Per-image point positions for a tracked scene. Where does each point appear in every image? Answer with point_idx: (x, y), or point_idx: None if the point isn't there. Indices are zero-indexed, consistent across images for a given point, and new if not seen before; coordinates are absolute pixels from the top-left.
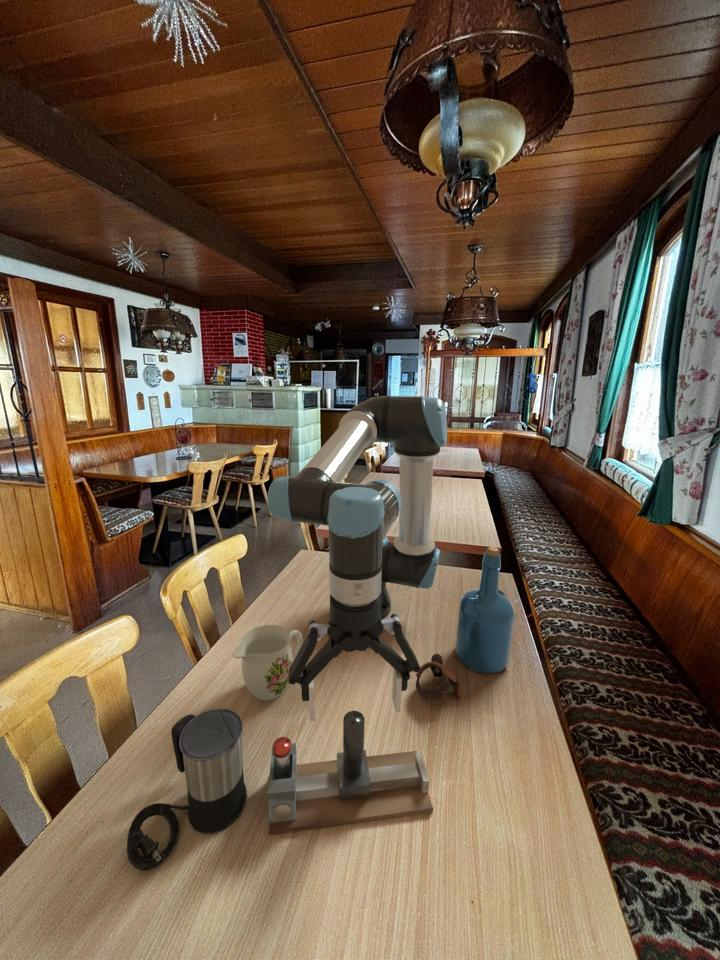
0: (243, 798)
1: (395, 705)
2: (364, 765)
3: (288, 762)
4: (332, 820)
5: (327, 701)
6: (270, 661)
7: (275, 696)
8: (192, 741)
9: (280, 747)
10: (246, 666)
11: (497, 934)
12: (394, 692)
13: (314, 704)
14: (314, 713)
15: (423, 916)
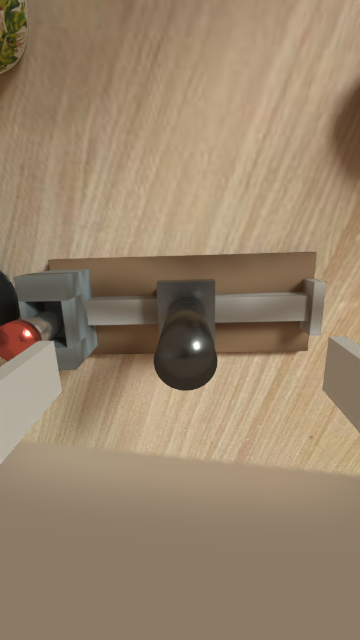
0: (10, 311)
1: (333, 394)
2: (208, 312)
3: (51, 335)
4: (152, 351)
5: (143, 88)
6: None
7: (5, 70)
8: None
9: (12, 349)
10: None
11: (324, 461)
12: (356, 393)
13: (34, 401)
14: (47, 407)
15: (251, 441)
